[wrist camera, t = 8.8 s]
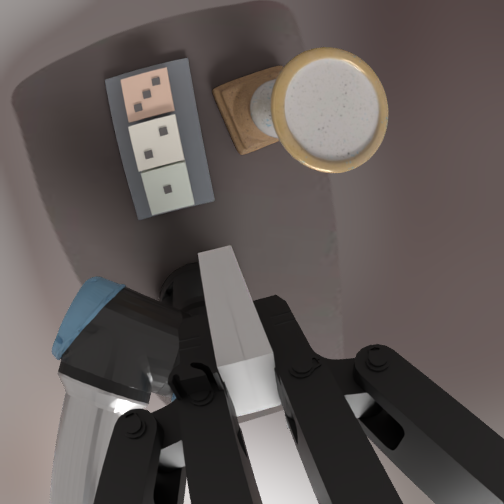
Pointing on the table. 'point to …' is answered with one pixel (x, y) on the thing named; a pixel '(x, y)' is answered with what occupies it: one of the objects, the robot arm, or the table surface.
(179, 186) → the one pip key
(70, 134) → the table surface
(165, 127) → the two pip key
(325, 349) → the table surface
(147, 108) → the three pip key
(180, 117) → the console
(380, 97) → the candle holder
